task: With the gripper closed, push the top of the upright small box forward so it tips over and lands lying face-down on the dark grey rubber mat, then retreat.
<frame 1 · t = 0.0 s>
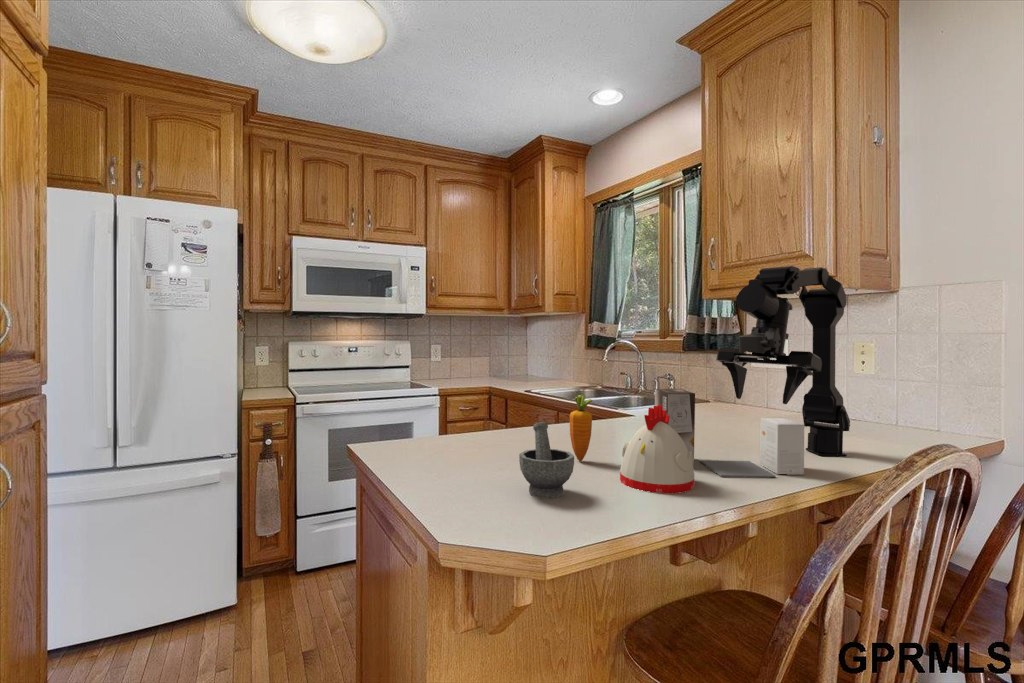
hand: (760, 401, 104), 15 cm above the table, tool pointing down, fingers open, 9 cm apart
mortar and pestle: (545, 492, 94), on the table
carrot: (580, 462, 116), on the table
mat: (735, 469, 111), on the table
coffee box: (673, 462, 117), on the table
kitchen timer: (656, 483, 101), on the table
small box: (780, 471, 111), on the table
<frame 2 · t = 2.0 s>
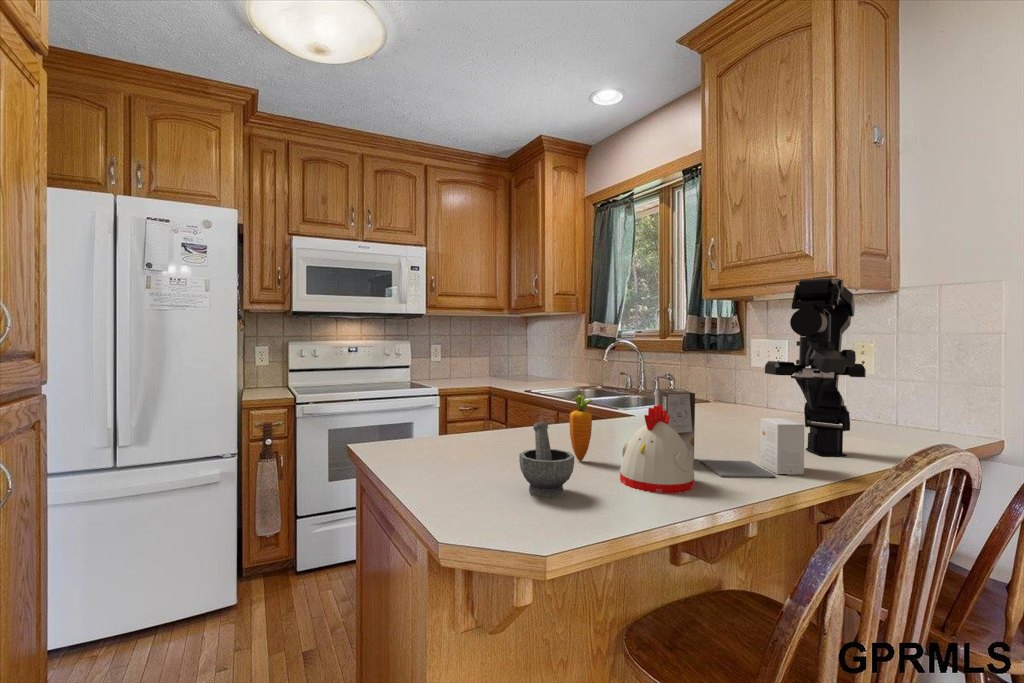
hand: (812, 409, 113), 13 cm above the table, tool pointing down, fingers closed
nothing on the table moved.
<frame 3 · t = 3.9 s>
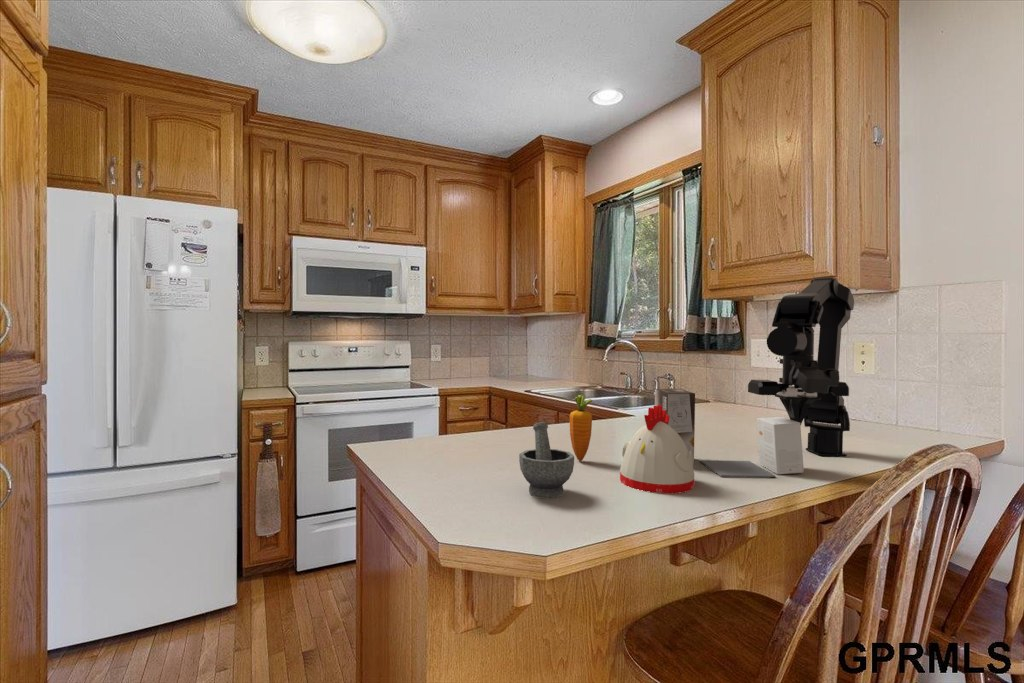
hand: (796, 428, 111), 9 cm above the table, tool pointing down, fingers closed
small box: (780, 470, 111), on the table, touching gripper
everything else where it was.
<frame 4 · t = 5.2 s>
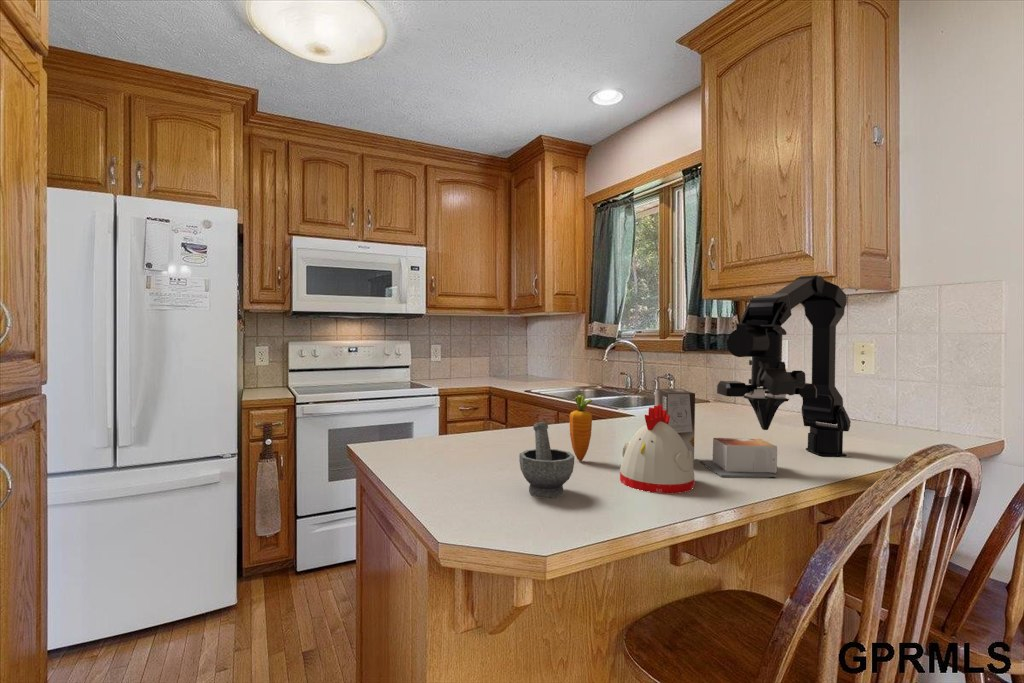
hand: (764, 429, 111), 9 cm above the table, tool pointing down, fingers closed
small box: (769, 455, 111), point 3 cm above the table, touching mat
everything else where it was.
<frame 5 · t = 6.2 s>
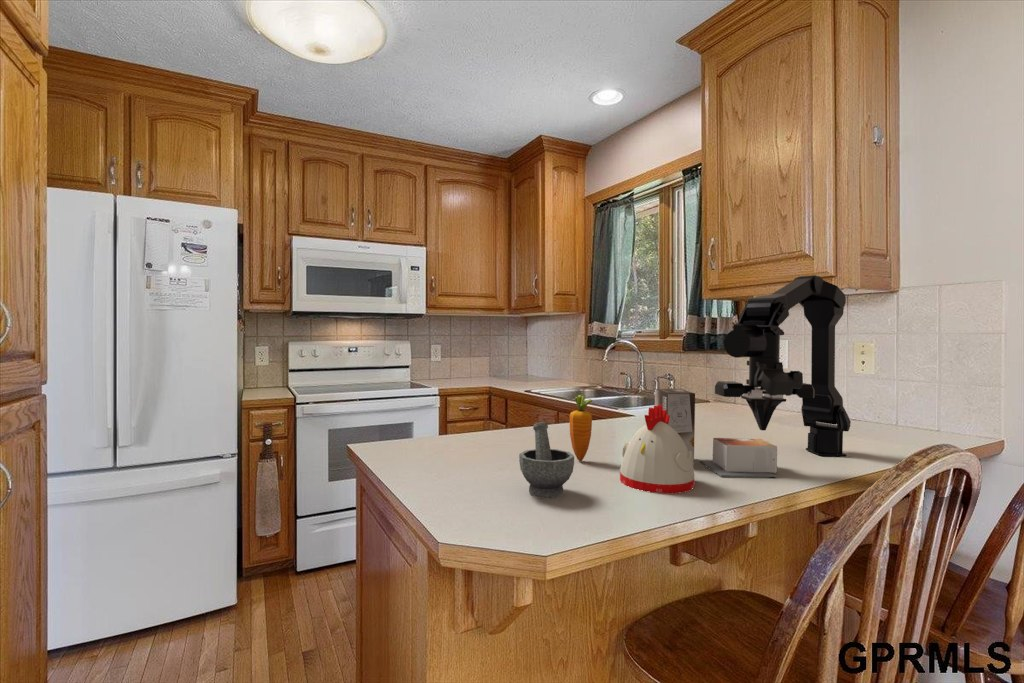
hand: (762, 430, 111), 8 cm above the table, tool pointing down, fingers closed
nothing on the table moved.
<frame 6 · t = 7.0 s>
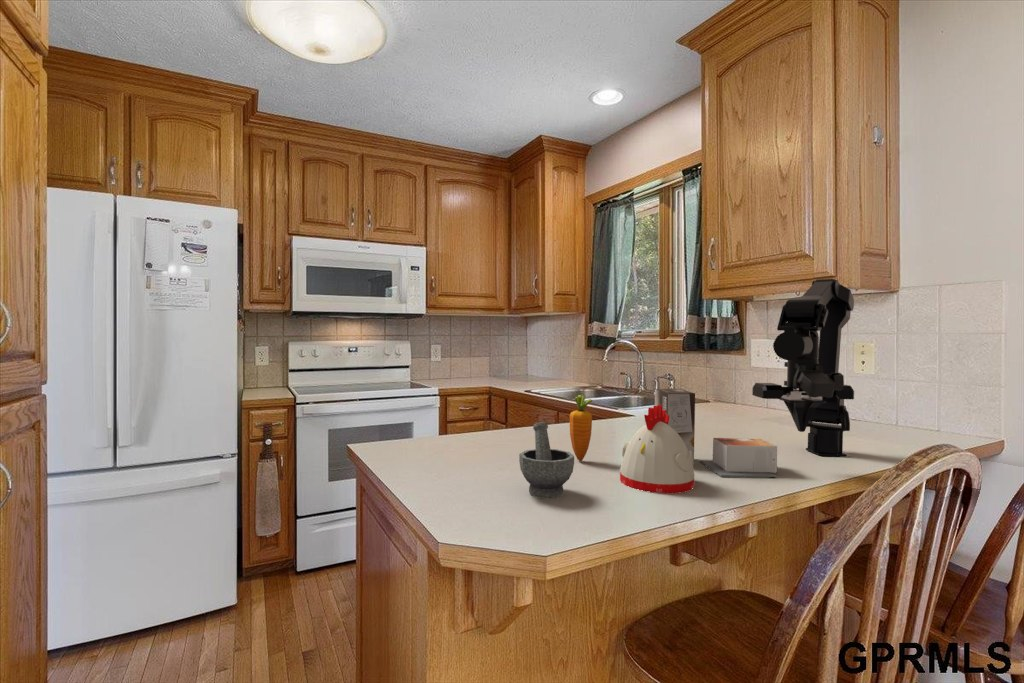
hand: (801, 431, 111), 8 cm above the table, tool pointing down, fingers closed
nothing on the table moved.
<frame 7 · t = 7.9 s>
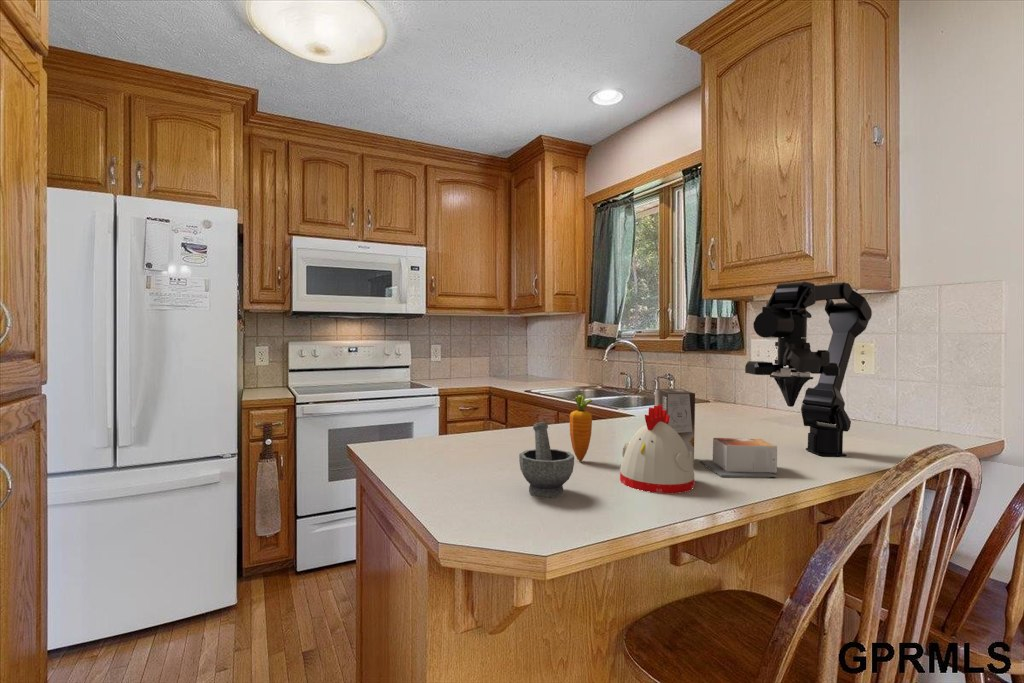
hand: (790, 406, 119), 12 cm above the table, tool pointing down, fingers closed
nothing on the table moved.
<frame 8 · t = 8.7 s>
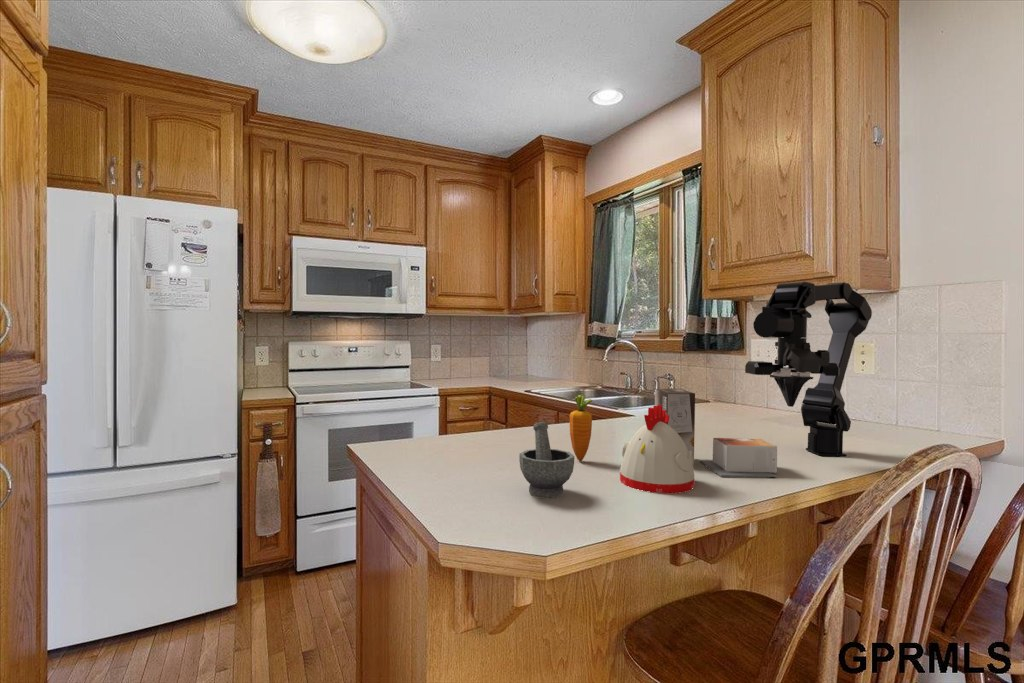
hand: (790, 406, 119), 12 cm above the table, tool pointing down, fingers closed
nothing on the table moved.
at the end: small box tilted 90°; small box inside the target area (7.2 cm from its centre), point 3.1 cm above the table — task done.
